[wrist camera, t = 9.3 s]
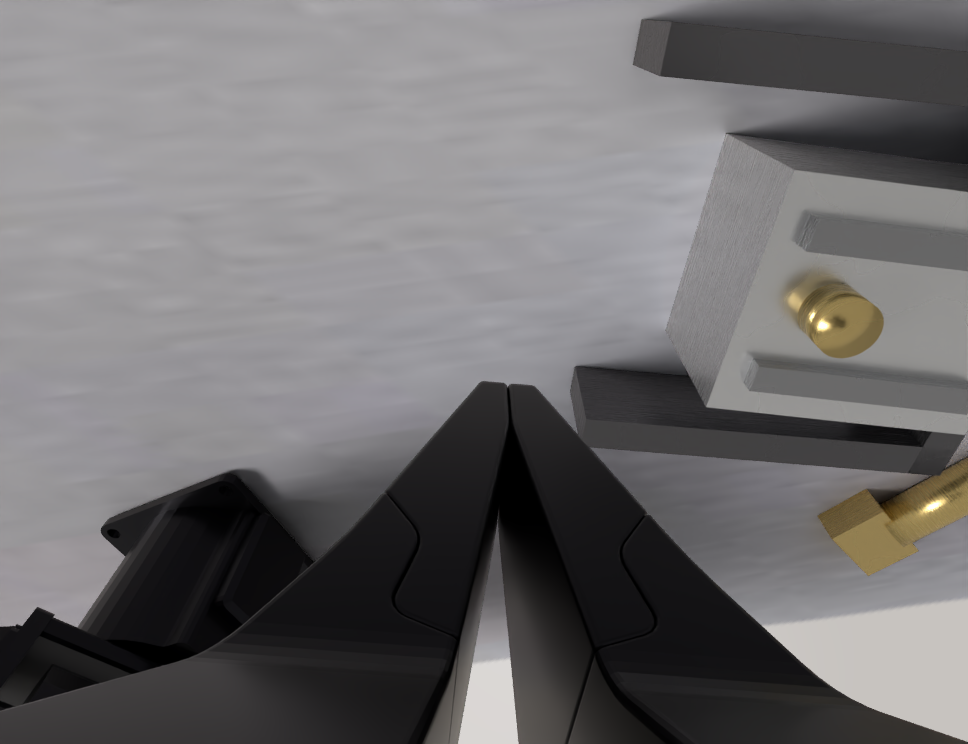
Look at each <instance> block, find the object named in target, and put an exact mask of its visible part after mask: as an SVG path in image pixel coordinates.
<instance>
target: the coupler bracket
mask: <svg viewBox="0 0 968 744" xmlns="http://www.w3.org/2000/svg"><path fill="white" fill-rule="evenodd" d="M633 65H635V66H637V67H639V68H642V69H644V70H647V71H649V72H651V73H654V74H656V75H658V76H664V77H674V78H684V79H694V80H704V81H714V82H724V83H735V84H745V85H755V86H765V87H775V88H785V89H796V90H806V91H816V92H826V93H836V94H846V95H857V96H867V97H877V98H887V99H897V100H907V101H918V102H928V103H938V104H948V105H958V106H968V52H965V51H955V50H945V49H936V48H926V47H916V46H906V45H896V44H886V43H876V42H866V41H856V40H846V39H836V38H826V37H817V36H807V35H797V34H787V33H777V32H767V31H757V30H747V29H737V28H727V27H717V26H708V25H698V24H688V23H678V22H667V21H654V20H641V25H640V31H639V36H638V41H637V46H636V51H635V57H634V62H633ZM570 393H571V399H572V404H573V409H574V415H575V420H576V425H577V431H578V435H579V436H580V437H581V438H582V440H583V441H584V442H585V443H586V444H587V445H588V446H589V447H594V448H606V449H618V450H630V451H643V452H655V453H667V454H679V455H692V456H704V457H716V458H728V459H741V460H753V461H765V462H777V463H790V464H802V465H814V466H826V467H839V468H851V469H863V470H875V471H888V472H900V473H912V474H924V475H937V476H940V475H941V473H942V471H943V470H944V468H945V467H946V465H947V463H948V462H949V460H950V459H951V457H952V455H953V454H954V452H955V451H956V449H957V448H958V446H959V444H960V443H961V441H962V440H963V438H964V436H965V435H966V434H965V435H959V434H950V433H941V432H931V431H922V430H913V429H904V428H894V427H885V426H876V425H867V424H857V423H848V422H839V421H830V420H820V419H811V418H802V417H793V416H783V415H774V414H765V413H756V412H746V411H737V410H728V409H719V408H709V407H706V406H705V404H704V402H703V400H702V398H701V397H700V395H699V393H698V391H697V389H696V387H695V385H694V383H693V382H692V380H691V378H690V376H680V375H669V374H657V373H645V372H633V371H622V370H610V369H598V368H587V367H575V369H574V374H573V380H572V385H571V390H570ZM967 432H968V431H967Z"/></svg>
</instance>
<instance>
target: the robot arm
mask: <svg viewBox="0 0 968 744" xmlns="http://www.w3.org/2000/svg"><path fill="white" fill-rule="evenodd" d="M225 486H227V487H229V488H231V489H229V488H227V487H225ZM497 518H498V528H499V542H500V552H501V563H502V573H503V584H504V594H505V605H506V615H507V626H508V636H509V647H510V657H511V668H512V677H513V688H514V699H515V710H516V719H517V730H518V741H519V744H968V742H966V741H963V740H960V739H957V738H954V737H952V736H949V735H945V734H943V733H940V732H937V731H934V730H931V729H928V728H925V727H923V726H920V725H916V724H914V723H911V722H908V721H905V720H902V719H899V718H896V717H894V716H891V715H888V714H885V713H882V712H879V711H877V710H874V709H872V708H869V707H867V706H864V705H863V704H861V703H859V702H857V701H855V700H852V699H851V698H849V697H847V696H846V695H844V694H842V693H841V692H839V691H837V690H836V689H834V688H833V687H831V686H830V685H828V684H827V683H826V682H825V681H823V680H822V679H820V678H819V677H818V676H817V675H815V674H814V673H813V672H812V671H811V670H810V669H808V668H807V667H806V666H805V665H804V664H803V663H801V662H800V661H799V660H798V659H797V658H796V657H795V656H794V655H793V654H792V653H791V652H789V651H788V650H787V649H786V648H785V647H784V646H783V645H782V644H781V643H780V642H779V641H778V640H776V639H775V638H774V637H773V636H772V635H771V634H770V633H769V632H767V630H766V629H765V628H763V627H762V626H761V625H760V624H759V623H758V622H757V621H756V620H755V619H754V618H753V617H751V616H750V615H749V614H748V613H747V612H746V611H745V610H744V609H743V608H742V607H741V606H740V605H738V604H737V603H736V602H735V601H734V600H733V599H732V598H731V597H730V596H729V595H728V594H726V593H725V592H724V591H723V590H722V589H721V588H720V587H719V586H718V585H717V584H716V583H715V582H714V581H713V580H712V579H711V578H710V577H709V576H708V575H707V574H705V573H704V572H703V571H702V570H701V569H700V568H699V567H698V566H697V565H696V564H695V563H694V562H693V561H692V560H691V559H690V558H689V557H688V556H687V555H686V554H685V553H684V552H683V551H682V550H681V548H680V547H679V546H678V545H677V544H676V543H675V542H674V541H673V540H672V539H671V538H670V537H669V536H668V535H667V534H666V533H665V531H664V530H663V529H662V528H661V527H660V526H659V525H658V524H657V522H656V521H655V520H654V519H653V518H652V517H651V516H650V515H647V512H646V510H645V509H644V508H643V507H642V506H641V505H640V504H639V503H638V501H637V500H636V499H635V498H634V497H633V496H632V495H631V494H630V492H629V491H628V490H627V489H626V488H625V487H624V486H623V485H622V483H621V482H620V481H619V480H618V479H617V478H616V477H615V476H614V474H613V473H612V472H611V471H610V470H609V469H608V468H607V467H606V465H605V464H604V463H603V462H602V461H601V460H600V459H599V458H598V456H597V455H596V454H595V453H594V452H593V451H592V450H591V449H590V447H589V446H588V445H587V444H586V443H585V442H584V441H583V440H582V438H581V437H580V436H579V435H578V434H577V433H576V432H575V431H574V430H573V428H572V427H571V426H570V425H569V424H568V423H567V422H566V421H565V419H564V418H563V417H562V416H561V415H560V414H559V413H558V412H557V410H556V409H555V408H554V407H553V406H552V405H551V404H550V403H549V401H548V400H547V399H546V398H545V397H544V396H543V395H542V394H541V392H540V391H539V390H538V389H537V388H536V387H535V386H532V385H522V384H510V385H509V386H508V388H507V385H506V384H505V383H499V382H487V381H482V382H480V383H479V384H478V385H477V386H476V388H475V389H474V390H473V391H472V392H471V393H470V394H469V396H468V397H467V398H466V399H465V400H464V401H463V402H462V404H461V405H460V406H459V407H458V408H457V409H456V410H455V412H454V413H453V414H452V415H451V416H450V417H449V418H448V420H447V421H446V422H445V423H444V424H443V425H442V426H441V428H440V429H439V430H438V431H437V432H436V433H435V434H434V436H433V437H432V438H431V439H430V440H429V441H428V442H427V444H426V445H425V446H424V447H423V448H422V449H421V450H420V452H419V453H418V454H417V455H416V456H415V457H414V459H413V460H412V461H411V462H410V463H409V464H408V465H407V467H406V468H405V469H404V470H403V471H402V472H401V473H400V475H399V476H398V477H397V478H396V479H395V480H394V481H393V483H392V484H391V485H390V486H389V487H388V488H387V489H386V491H385V493H384V494H382V495H381V496H380V497H379V498H378V499H377V500H376V502H375V503H374V504H373V505H372V506H371V507H370V509H369V510H368V511H367V512H366V513H365V514H364V515H363V516H362V517H361V518H360V519H359V520H358V521H357V522H356V524H355V525H354V526H353V527H352V528H351V529H350V530H349V531H348V532H347V533H346V534H345V535H344V536H343V537H342V538H341V539H339V540H338V541H337V542H336V543H335V544H334V545H333V546H332V547H331V548H330V549H329V550H328V551H326V552H325V553H324V554H323V555H322V556H321V557H320V558H319V559H318V560H317V561H315V562H314V563H313V562H312V560H311V559H310V558H309V557H308V556H307V555H306V554H305V552H304V551H303V550H302V549H301V548H300V547H299V546H298V545H297V543H296V542H295V541H294V540H293V539H292V538H291V537H290V535H289V534H288V533H287V532H286V531H285V530H284V529H283V527H282V526H281V525H280V524H279V523H278V522H277V521H276V519H275V518H274V517H273V516H272V515H271V514H270V513H269V511H268V510H267V509H266V508H265V507H264V506H263V505H262V503H261V502H260V501H259V500H258V499H257V498H256V497H255V496H254V494H253V493H252V492H251V491H250V490H249V489H248V488H247V486H246V485H245V484H244V483H243V482H242V481H241V480H240V479H239V478H238V477H237V476H234V475H232V474H222V475H219V476H217V477H214V478H212V479H209V480H206V481H204V482H201V483H199V484H196V485H194V486H191V487H188V488H186V489H183V490H181V491H178V492H176V493H173V494H170V495H168V496H165V497H163V498H160V499H158V500H155V501H152V502H150V503H147V504H145V505H142V506H140V507H137V508H134V509H132V510H129V511H127V512H124V513H122V514H119V515H116V516H114V517H111V518H109V519H108V520H107V521H106V522H105V524H104V525H103V526H102V528H101V534H102V535H103V536H104V537H105V538H106V539H107V540H108V541H109V542H110V543H111V544H112V545H113V546H114V547H116V548H117V549H118V550H119V551H120V552H121V553H122V554H123V555H124V556H125V558H124V560H123V561H122V563H121V564H120V566H119V567H118V569H117V570H116V571H115V573H114V574H113V576H112V577H111V579H110V580H109V582H108V583H107V585H106V586H105V588H104V589H103V591H102V592H101V594H100V595H99V596H98V598H97V599H96V601H95V602H94V604H93V605H92V607H91V608H90V610H89V611H88V613H87V614H86V616H85V617H84V618H83V620H82V621H81V623H80V624H79V626H78V627H74V626H72V625H70V624H67V623H65V622H63V621H60V620H58V619H56V618H53V616H54V615H55V614H53V613H50V612H48V611H46V610H43V609H41V608H39V607H37V608H36V609H35V611H34V612H33V613H32V614H31V616H30V617H29V618H28V619H27V621H26V622H25V623H24V624H23V626H20V625H18V624H17V625H16V626H9V627H0V744H458V740H459V733H460V728H461V723H462V717H463V712H464V706H465V701H466V695H467V689H468V684H469V678H470V673H471V667H472V662H473V656H474V650H475V645H476V639H477V634H478V628H479V623H480V617H481V611H482V606H483V600H484V595H485V589H486V584H487V578H488V572H489V567H490V561H491V556H492V550H493V545H494V539H495V533H496V526H497Z"/></svg>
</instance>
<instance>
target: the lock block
mask: <svg viewBox="0 0 968 744" xmlns="http://www.w3.org/2000/svg"><path fill="white" fill-rule="evenodd" d="M665 331H666V332H667V334H668V336H669V338H670V340H671V342H672V344H673V346H674V348H675V349H676V351H677V353H678V355H679V357H680V359H681V361H682V363H683V365H684V366H685V368H686V370H687V372H688V374H689V376H690V378H691V380H692V382H693V383H694V385H695V387H696V389H697V391H698V393H699V395H700V397H701V398H702V400H703V402H704V404H705V406H706V407H709V408H719V409H728V410H737V411H746V412H756V413H765V414H774V415H783V416H793V417H802V418H811V419H820V420H830V421H839V422H848V423H857V424H867V425H876V426H885V427H894V428H904V429H913V430H922V431H931V432H941V433H950V434H959V435H965V434H966V433H967V431H968V165H965V164H958V163H950V162H942V161H935V160H927V159H919V158H911V157H904V156H896V155H888V154H881V153H873V152H865V151H858V150H850V149H842V148H835V147H827V146H819V145H811V144H804V143H796V142H788V141H781V140H773V139H765V138H758V137H750V136H742V135H735V134H727V133H726V135H725V138H724V142H723V145H722V148H721V151H720V154H719V158H718V161H717V164H716V167H715V171H714V174H713V177H712V180H711V184H710V187H709V190H708V193H707V197H706V200H705V203H704V206H703V210H702V213H701V216H700V219H699V223H698V226H697V229H696V232H695V236H694V239H693V242H692V245H691V249H690V252H689V255H688V258H687V262H686V265H685V268H684V271H683V275H682V278H681V281H680V284H679V288H678V291H677V294H676V297H675V301H674V304H673V307H672V310H671V314H670V317H669V320H668V323H667V327H666V330H665Z"/></svg>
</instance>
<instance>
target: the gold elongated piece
mask: <svg viewBox="0 0 968 744" xmlns="http://www.w3.org/2000/svg"><path fill="white" fill-rule="evenodd" d="M967 515H968V458H966V459H964V460H962V461H960V462H958V463H956V464H955V465H953V466H951V467H949V468H947V469H945V470H943V471H942V473H941V475H940V476H937V475H934V476H932V477H930V478H929V479H927V480H925V481H923V482H921V483H919V484H917V485H916V486H914V487H912V488H910V489H908V490H906V491H904V492H903V493H901V494H899V495H897V496H895V497H893V498H891V499H890V500H888V501H886V502H884V503H882V504H879V503H878V502H877V500H876V499H875V498H874V497H873V496H872V495H871V494H870V493H869V491H868V490H867V489H865V490H863V491H862V492H860V493H858V494H856V495H854V496H853V497H851V498H849V499H847V500H845V501H844V502H842V503H840V504H838V505H836V506H834V507H833V508H831V509H829V510H827V511H825V512H824V513H822V514H820V515H818V518H819V519H820V521H821V522H822V524H823V526H824V527H825V529H826V530H827V532H828V534H829V535H830V537H831V538H832V540H833V541H834V542H835V543H836V544H837V545H838V546H839V547H840V548H841V549H842V550H843V551H844V552H845V553H846V554H847V555H848V556H849V557H850V558H851V559H852V560H853V561H854V562H855V563H856V564H857V565H858V566H859V567H860V568H861V569H862V570H863V571H864V572H865V573H866V574H867V575H868V576H869V575H871V574H873V573H875V572H877V571H879V570H881V569H883V568H885V567H887V566H889V565H891V564H893V563H895V562H897V561H899V560H901V559H904V558H906V557H908V556H910V555H912V554H914V553H916V552H918V549H917V548H916V547H915V545H914V544H913V542H915V541H917V540H919V539H921V538H923V537H925V536H927V535H929V534H931V533H933V532H935V531H937V530H939V529H941V528H943V527H945V526H947V525H949V524H951V523H953V522H955V521H957V520H959V519H961V518H963V517H965V516H967Z"/></svg>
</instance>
